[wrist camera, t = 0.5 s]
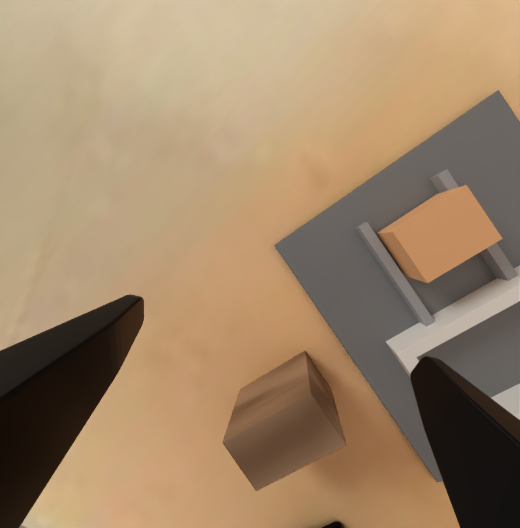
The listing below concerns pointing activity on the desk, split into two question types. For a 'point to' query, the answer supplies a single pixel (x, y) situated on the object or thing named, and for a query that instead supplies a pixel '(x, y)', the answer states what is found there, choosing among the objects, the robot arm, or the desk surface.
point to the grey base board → (417, 292)
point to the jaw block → (283, 422)
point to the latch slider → (439, 234)
